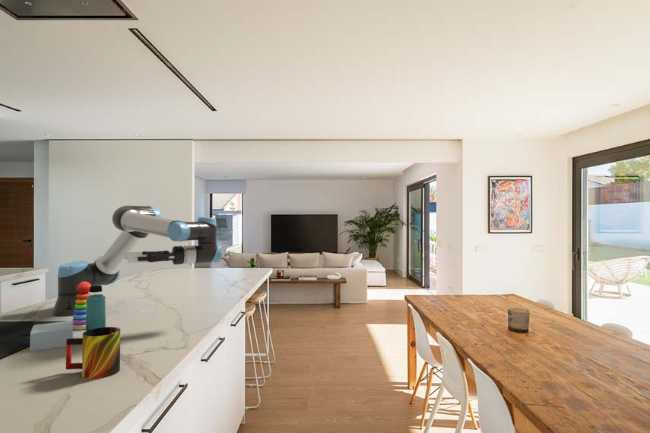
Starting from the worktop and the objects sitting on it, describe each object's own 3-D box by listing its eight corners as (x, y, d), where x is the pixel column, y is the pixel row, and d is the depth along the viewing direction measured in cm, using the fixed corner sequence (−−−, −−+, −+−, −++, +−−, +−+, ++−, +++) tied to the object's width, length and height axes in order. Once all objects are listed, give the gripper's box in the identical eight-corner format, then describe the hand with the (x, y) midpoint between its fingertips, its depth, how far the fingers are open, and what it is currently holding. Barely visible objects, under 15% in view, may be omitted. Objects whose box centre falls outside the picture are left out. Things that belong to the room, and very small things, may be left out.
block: (72, 336, 149) (72, 320, 149) (72, 345, 139) (72, 328, 139) (33, 341, 143) (33, 325, 143) (30, 351, 132) (30, 333, 132)
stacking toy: (83, 331, 156) (83, 283, 156) (66, 329, 158) (66, 283, 158) (98, 325, 164) (98, 280, 164) (81, 324, 165) (82, 280, 166)
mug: (65, 372, 115) (66, 331, 115) (119, 364, 122) (119, 325, 122) (63, 384, 107) (63, 340, 107) (120, 375, 114) (121, 333, 114)
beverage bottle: (109, 338, 147) (110, 284, 147) (94, 343, 141) (94, 287, 141) (96, 336, 149) (97, 283, 150) (80, 341, 143) (81, 286, 143)
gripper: (190, 267, 151) (129, 271, 140) (176, 261, 172) (122, 263, 161) (190, 248, 151) (129, 250, 140) (177, 244, 172) (122, 245, 161)
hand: (125, 257), depth 150 cm, fingers open, 13 cm apart
